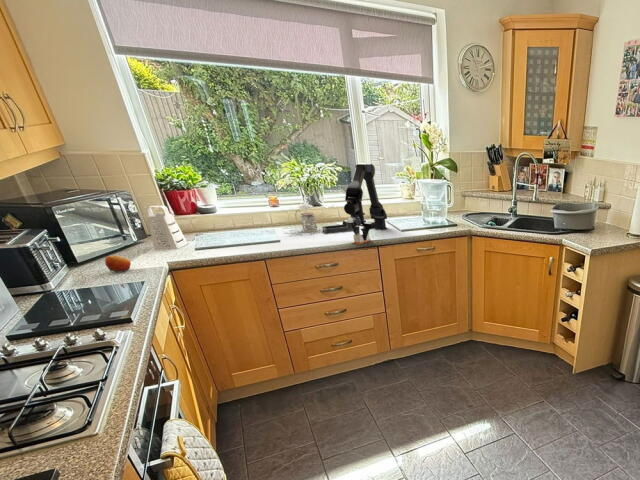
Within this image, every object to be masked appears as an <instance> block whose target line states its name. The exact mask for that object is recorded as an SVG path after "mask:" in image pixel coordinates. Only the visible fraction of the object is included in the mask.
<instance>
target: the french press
mask: <svg viewBox="0 0 640 480" xmlns="http://www.w3.org/2000/svg"><path fill="white" fill-rule="evenodd" d="M299 189H300V190H301V192H302V194H304V191H303V190H304V186H299ZM302 197H303V198H305V195H302ZM303 200H304V203H303V204H300V205H299V206H298V207H297V208H298V209H297V210H296V211H295V212H294V218H295V219H296V220H298V217H297V214H298V212H299V213H300V215H301V216H300V219H301V221H300V220H298V222H299V223H300V224H301V225H302V230H301V232H304V233H314V232H318V231H320V228H318V225H317V220H316V216H315V214H314V212H308V211H307V210H308V209H313V208H314V205H312V204H309V203H306V201H305V199H303ZM300 209H301V210H305V212H301V210H300Z"/></svg>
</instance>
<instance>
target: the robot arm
mask: <svg viewBox="0 0 640 480" xmlns="http://www.w3.org/2000/svg"><path fill="white" fill-rule="evenodd" d="M375 175H376V167H375V165H374V164H373V163H364V162H363V163H356V164H355V170H354V174H353V177H352V181H351V182H350V183H348V184H347V187H346V190H345V196H344V197H345V199H344V201H345V202H346V203H345V204H344V207H343V210H344V212H345V213H346V214H347V215H350V217H348V218H347V219H344V220H343V221H342V224H341V225H343V226H345V227H349V228H350V229H351V230H353V231H352V232H353V233H354V235H355V234H358V233H361V232H363V238H364V241H365V240H366V238H367V235H368V232H369V233H370V230H374V229H375V230H377V231H380V230H387V229H388V227H387V225H386V224H387V223H386V220H387V219H388V215H387V212H386V210H385V209H384V206H383V204H382V203H381V202H380V201H379V196H378V192H377V187H376V184H375V180H374V177H375ZM364 181H365V185H366V189H367V193H368V198H369V200H370V205H369V208H368V209H369V215H370V219H371V220H373V221H367V220H366V219H365V216H364V215H366V213H365V212H364V209H363V203H362V202H363V195H364V191H363V188H362V185H363V182H364ZM360 227H362V228H360ZM360 230H361V232H360Z"/></svg>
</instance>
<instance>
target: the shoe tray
mask: <svg viewBox="0 0 640 480" xmlns="http://www.w3.org/2000/svg"><path fill="white" fill-rule="evenodd" d="M321 229H322V231H323V233H325V234H334V233H343V232H351V231H352V232H353V230H351V229H350V228H349V227H345V226H343V224H335V225H334V224H333V225H323V226H322V227H321Z"/></svg>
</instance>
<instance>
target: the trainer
mask: <svg viewBox="0 0 640 480" xmlns="http://www.w3.org/2000/svg"><path fill="white" fill-rule="evenodd" d="M352 236H353V244H356V245H362V244H364V243H367V242H370V241H371V238H370V237H371V236H370V231H369V232H368V235H367V238H366V240H365V241H364V238H363V232H362V231H361V232H360V233H358V234H355V233H354V234H353V235H352Z"/></svg>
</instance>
